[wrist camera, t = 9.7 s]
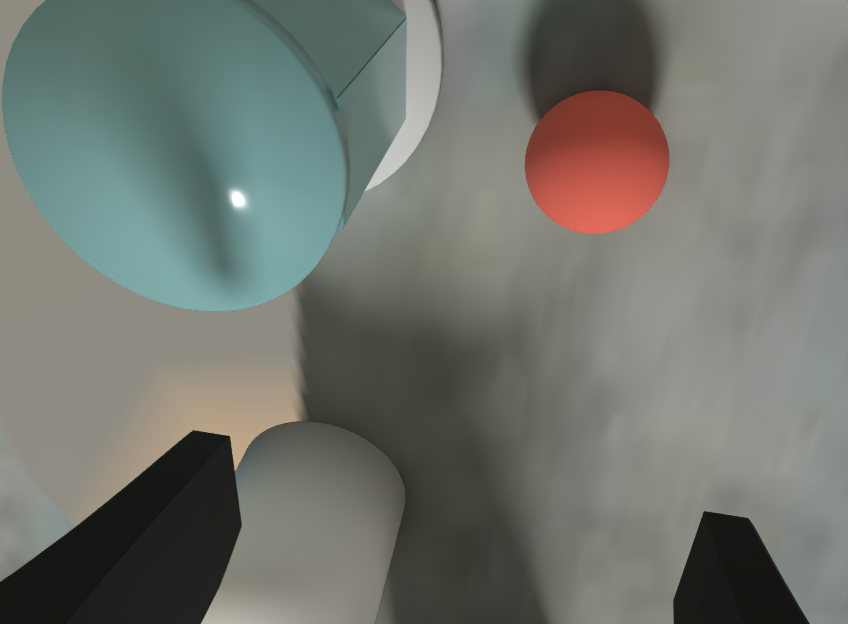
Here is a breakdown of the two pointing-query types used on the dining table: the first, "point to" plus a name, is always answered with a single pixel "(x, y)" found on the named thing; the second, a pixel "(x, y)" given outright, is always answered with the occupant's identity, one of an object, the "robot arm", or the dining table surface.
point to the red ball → (597, 162)
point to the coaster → (416, 83)
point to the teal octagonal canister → (203, 135)
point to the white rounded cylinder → (311, 529)
